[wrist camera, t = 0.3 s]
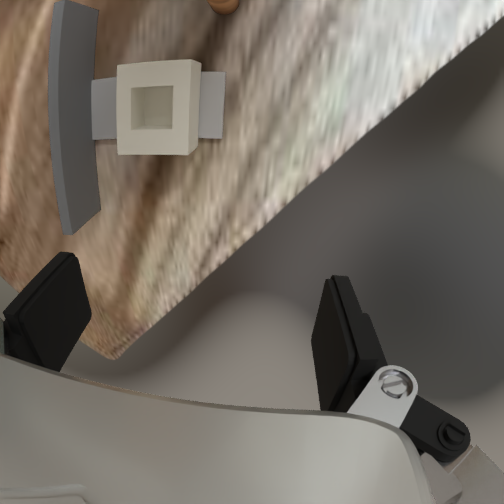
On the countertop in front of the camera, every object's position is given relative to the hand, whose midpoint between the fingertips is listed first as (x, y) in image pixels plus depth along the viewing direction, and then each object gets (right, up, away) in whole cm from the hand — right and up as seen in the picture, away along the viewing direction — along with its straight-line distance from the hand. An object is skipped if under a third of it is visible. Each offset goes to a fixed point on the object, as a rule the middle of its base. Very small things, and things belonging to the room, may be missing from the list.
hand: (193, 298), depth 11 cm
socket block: (-8, +19, +21) cm, 29 cm away
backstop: (-10, +19, +22) cm, 31 cm away
